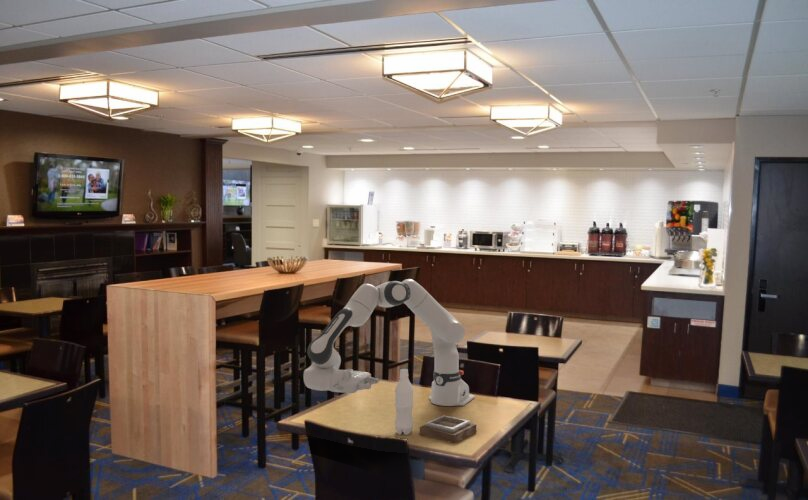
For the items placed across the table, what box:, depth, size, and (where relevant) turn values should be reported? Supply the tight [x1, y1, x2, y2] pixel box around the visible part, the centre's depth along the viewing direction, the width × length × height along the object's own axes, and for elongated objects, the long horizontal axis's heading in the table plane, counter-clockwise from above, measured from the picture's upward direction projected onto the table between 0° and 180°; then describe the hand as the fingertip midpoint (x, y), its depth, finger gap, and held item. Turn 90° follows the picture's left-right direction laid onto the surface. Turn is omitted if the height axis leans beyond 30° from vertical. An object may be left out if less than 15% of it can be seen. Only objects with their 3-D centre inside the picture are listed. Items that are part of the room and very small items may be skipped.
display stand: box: [419, 414, 477, 444], centre depth 253 cm, size 16×16×4 cm
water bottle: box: [394, 368, 414, 436], centre depth 253 cm, size 7×7×25 cm
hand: (374, 383), depth 256 cm, fingers open, 8 cm apart
